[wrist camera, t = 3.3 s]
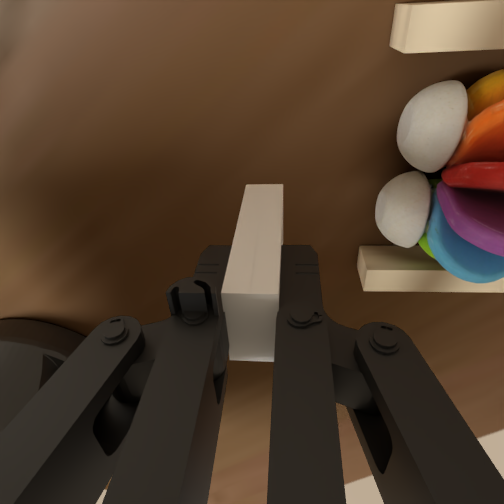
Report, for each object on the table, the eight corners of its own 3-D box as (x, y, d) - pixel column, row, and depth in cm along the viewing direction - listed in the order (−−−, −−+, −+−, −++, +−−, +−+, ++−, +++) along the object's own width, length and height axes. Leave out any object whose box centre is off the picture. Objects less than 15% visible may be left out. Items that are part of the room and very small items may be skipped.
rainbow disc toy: (596, 68, 17) (769, 108, 11) (499, 242, 22) (577, 332, 16) (409, 53, 17) (478, 85, 11) (360, 230, 22) (387, 314, 16)
